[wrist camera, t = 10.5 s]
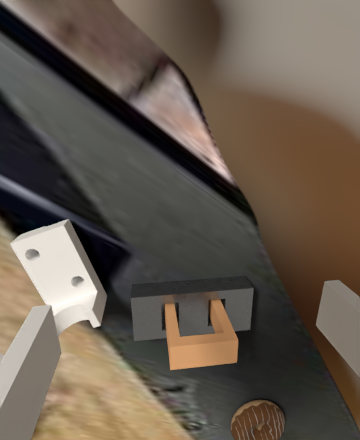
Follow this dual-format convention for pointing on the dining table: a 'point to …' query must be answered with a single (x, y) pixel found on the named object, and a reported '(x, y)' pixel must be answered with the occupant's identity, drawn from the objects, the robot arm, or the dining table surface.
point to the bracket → (62, 274)
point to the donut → (258, 421)
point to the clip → (201, 340)
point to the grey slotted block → (189, 305)
